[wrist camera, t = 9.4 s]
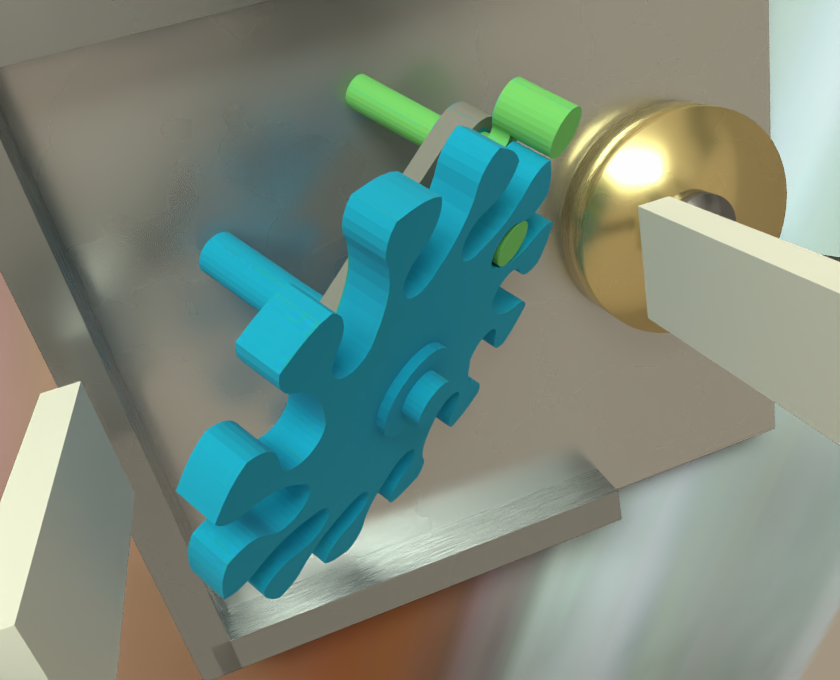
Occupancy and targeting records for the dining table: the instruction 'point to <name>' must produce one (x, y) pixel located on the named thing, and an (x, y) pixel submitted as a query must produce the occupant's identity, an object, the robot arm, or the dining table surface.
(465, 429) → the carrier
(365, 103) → the gear
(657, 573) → the dining table surface
